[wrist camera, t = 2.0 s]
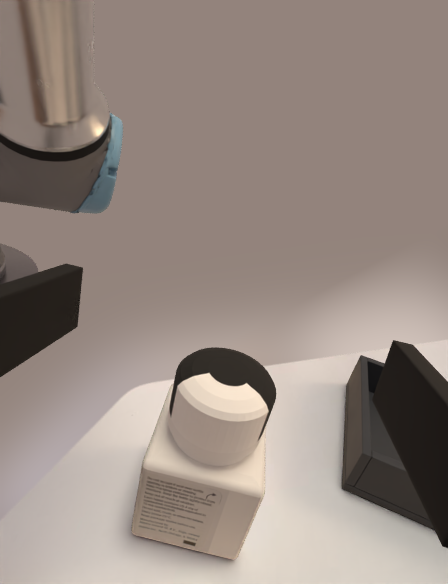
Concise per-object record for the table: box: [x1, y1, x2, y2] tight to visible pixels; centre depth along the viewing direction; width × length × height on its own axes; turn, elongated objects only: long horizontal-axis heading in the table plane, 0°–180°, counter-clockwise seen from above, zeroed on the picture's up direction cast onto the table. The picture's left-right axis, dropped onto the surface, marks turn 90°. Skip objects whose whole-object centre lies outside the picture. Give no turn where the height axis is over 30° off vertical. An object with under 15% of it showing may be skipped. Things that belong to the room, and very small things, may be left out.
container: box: [131, 348, 276, 560], centre depth 26 cm, size 8×8×13 cm
